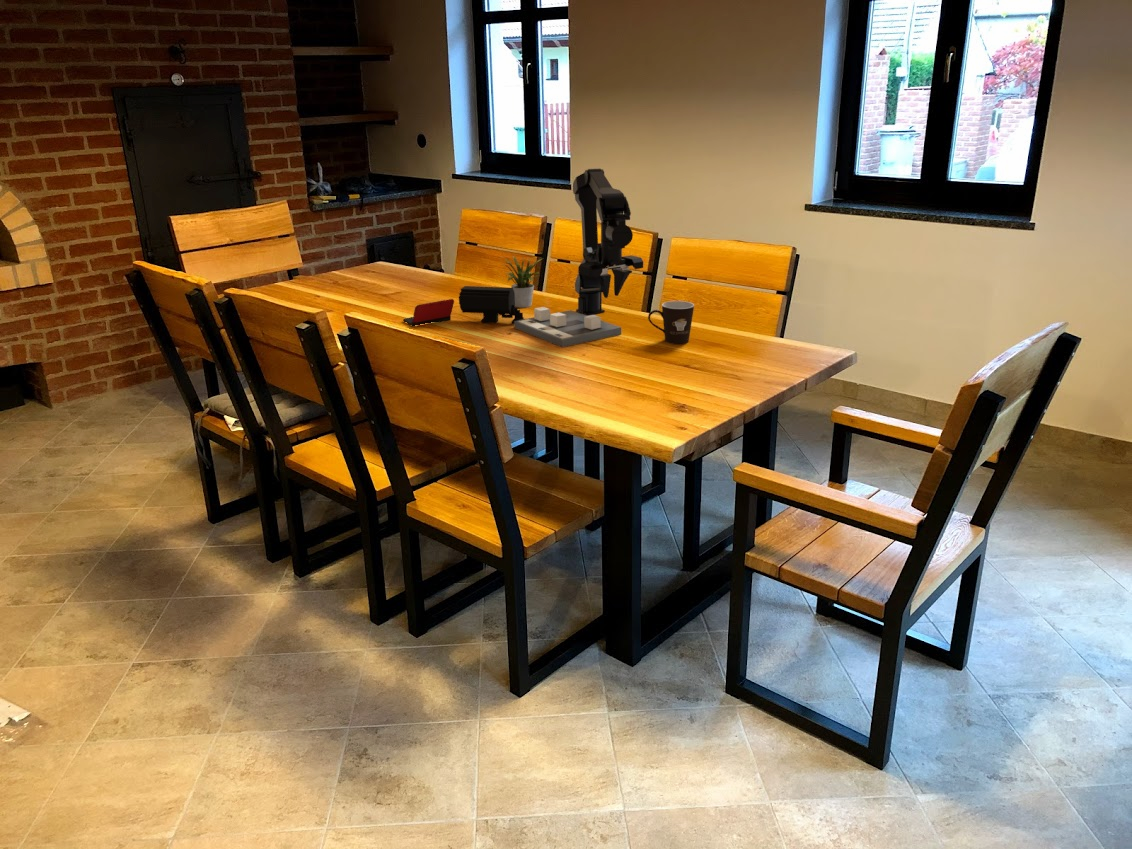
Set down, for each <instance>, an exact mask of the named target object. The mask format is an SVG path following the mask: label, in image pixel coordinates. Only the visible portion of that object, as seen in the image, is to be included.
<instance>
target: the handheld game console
mask: <svg viewBox="0 0 1132 849" xmlns="http://www.w3.org/2000/svg"><path fill="white" fill-rule="evenodd" d="M454 303H455V299H453V298H449V299H445V300H443V299H442V300H437V301H432V302H426V303H422V304H417V305H416V306H415V307H414V310H413V311H414V312H413V316H411V317H407V318H403V319H402V322H403V321H404V322H407V323H408V324H409V325H408V324H407V325H408V326H410V325H412V326H415V325H420V324H425V323H431V322H439V323H443V322H442V321H444V322H449V321H451V320H452V318H451V316H452V312H453V308H454V305H455V304H454ZM404 322H403V323H404ZM431 324H432V323H431ZM412 326H411V327H412Z"/></svg>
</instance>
